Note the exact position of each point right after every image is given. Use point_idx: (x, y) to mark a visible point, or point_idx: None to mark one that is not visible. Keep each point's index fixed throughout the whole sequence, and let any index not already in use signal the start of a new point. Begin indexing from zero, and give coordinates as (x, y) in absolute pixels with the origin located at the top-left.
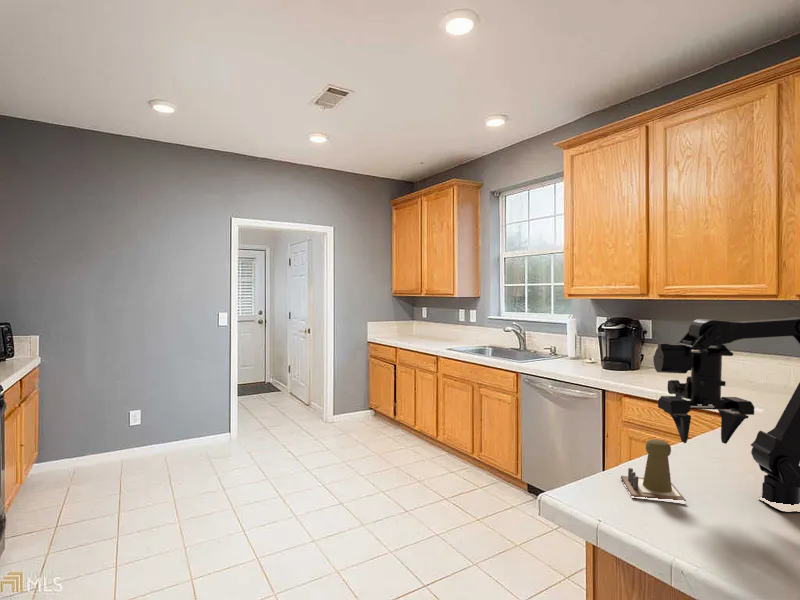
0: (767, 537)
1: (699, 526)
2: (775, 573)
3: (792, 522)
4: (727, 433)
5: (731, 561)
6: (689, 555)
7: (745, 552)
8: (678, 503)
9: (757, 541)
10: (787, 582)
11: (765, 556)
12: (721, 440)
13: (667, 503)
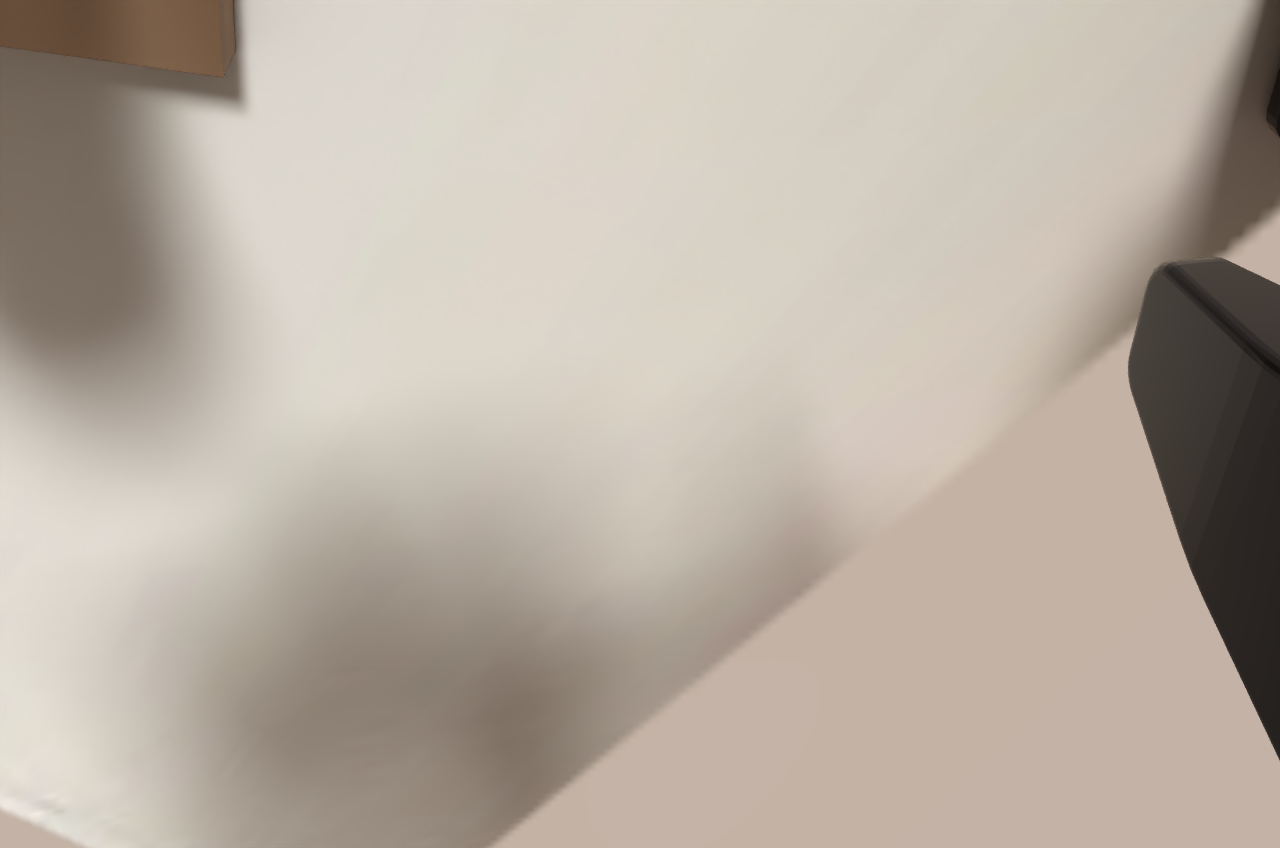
0: (697, 533)
1: (221, 459)
2: (458, 804)
3: None
4: (1275, 708)
5: (269, 760)
6: (32, 746)
7: (407, 688)
8: None
9: (578, 584)
10: (470, 842)
11: (509, 705)
12: (1180, 280)
13: None
